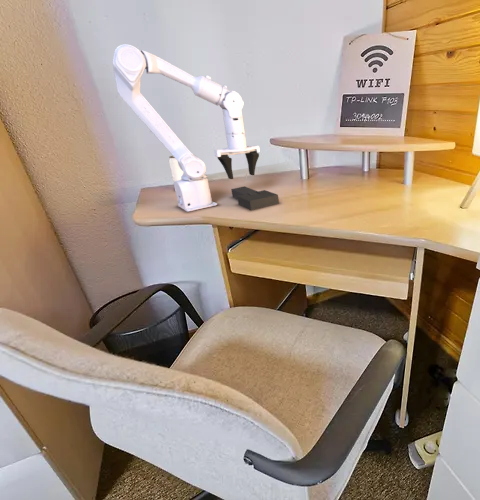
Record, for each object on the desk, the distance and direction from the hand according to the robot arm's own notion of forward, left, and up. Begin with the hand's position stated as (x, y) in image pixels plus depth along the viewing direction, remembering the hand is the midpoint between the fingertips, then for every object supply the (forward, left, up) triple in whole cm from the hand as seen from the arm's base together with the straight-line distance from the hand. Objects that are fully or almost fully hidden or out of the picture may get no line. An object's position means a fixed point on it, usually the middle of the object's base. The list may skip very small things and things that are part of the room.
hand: (241, 176), depth 105 cm
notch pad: (0, -9, -8) cm, 12 cm away
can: (-10, +27, -8) cm, 30 cm away
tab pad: (0, -2, -7) cm, 8 cm away
